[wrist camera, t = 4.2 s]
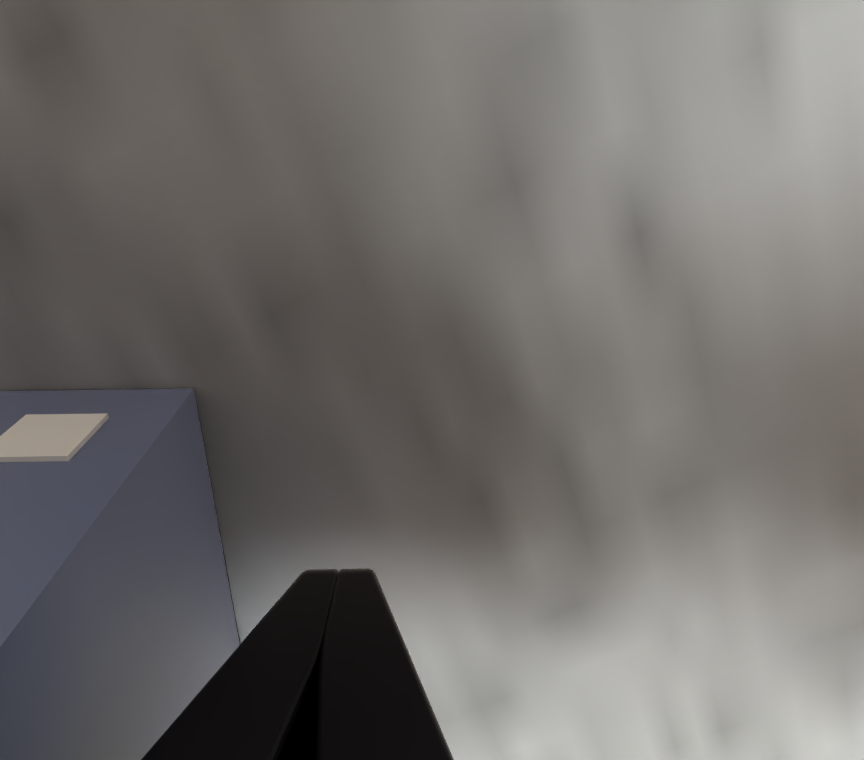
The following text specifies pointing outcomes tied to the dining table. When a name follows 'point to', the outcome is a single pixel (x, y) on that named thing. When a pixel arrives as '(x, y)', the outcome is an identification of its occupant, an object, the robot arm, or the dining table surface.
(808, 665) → the dining table surface
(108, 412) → the die
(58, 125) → the dining table surface
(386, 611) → the robot arm
